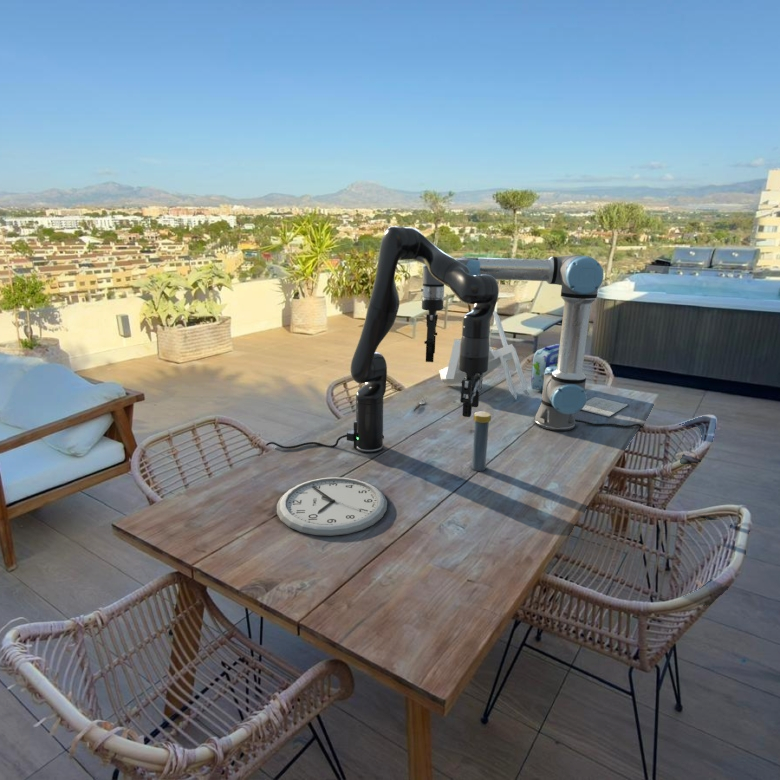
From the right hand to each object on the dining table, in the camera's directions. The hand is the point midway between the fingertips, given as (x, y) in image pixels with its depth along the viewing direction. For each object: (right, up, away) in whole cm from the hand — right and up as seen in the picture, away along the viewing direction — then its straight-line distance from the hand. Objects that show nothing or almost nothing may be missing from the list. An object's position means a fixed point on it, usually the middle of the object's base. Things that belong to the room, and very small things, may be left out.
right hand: (430, 357), depth 190 cm
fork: (-2, -19, +33) cm, 38 cm away
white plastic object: (+27, -13, +54) cm, 61 cm away
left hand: (+7, -18, -48) cm, 52 cm away
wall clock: (-30, -43, -47) cm, 71 cm away
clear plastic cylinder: (+14, -37, -23) cm, 45 cm away
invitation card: (+77, -19, +37) cm, 87 cm away
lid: (+14, -20, -28) cm, 37 cm away
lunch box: (+63, -11, +61) cm, 88 cm away
